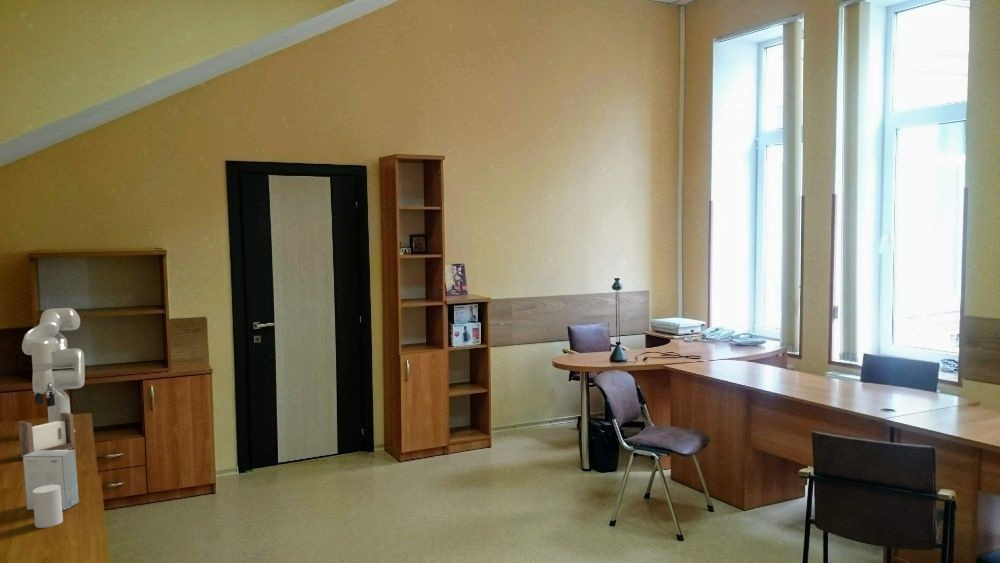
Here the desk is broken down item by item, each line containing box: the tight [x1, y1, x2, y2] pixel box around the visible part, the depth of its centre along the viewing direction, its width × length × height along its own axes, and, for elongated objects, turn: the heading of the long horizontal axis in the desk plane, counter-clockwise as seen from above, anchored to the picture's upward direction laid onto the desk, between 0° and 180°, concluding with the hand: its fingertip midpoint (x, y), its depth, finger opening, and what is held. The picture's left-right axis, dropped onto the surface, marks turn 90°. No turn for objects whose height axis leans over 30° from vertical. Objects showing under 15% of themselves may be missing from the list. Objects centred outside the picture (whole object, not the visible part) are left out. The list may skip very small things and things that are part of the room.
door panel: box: [32, 420, 66, 451], centre depth 336 cm, size 4×14×12 cm, turn 148°
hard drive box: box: [22, 449, 80, 511], centre depth 269 cm, size 16×8×20 cm, turn 84°
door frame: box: [18, 412, 76, 458], centre depth 336 cm, size 8×20×16 cm, turn 148°
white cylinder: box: [33, 485, 64, 529], centre depth 253 cm, size 8×8×12 cm
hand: (45, 404), depth 335 cm, fingers open, 9 cm apart
